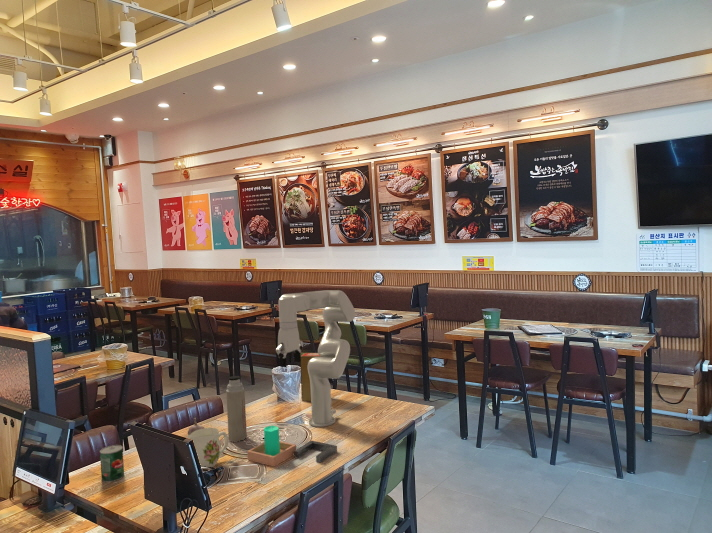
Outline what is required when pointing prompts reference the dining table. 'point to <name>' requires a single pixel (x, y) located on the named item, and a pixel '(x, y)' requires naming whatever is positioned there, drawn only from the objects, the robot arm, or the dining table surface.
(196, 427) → the garlic bulb
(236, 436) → the thermos bottle
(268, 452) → the candle
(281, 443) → the tray
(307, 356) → the food packaging
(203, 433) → the pitcher
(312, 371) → the robot arm
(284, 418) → the dining table surface
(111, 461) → the canned tomato
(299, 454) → the dock
